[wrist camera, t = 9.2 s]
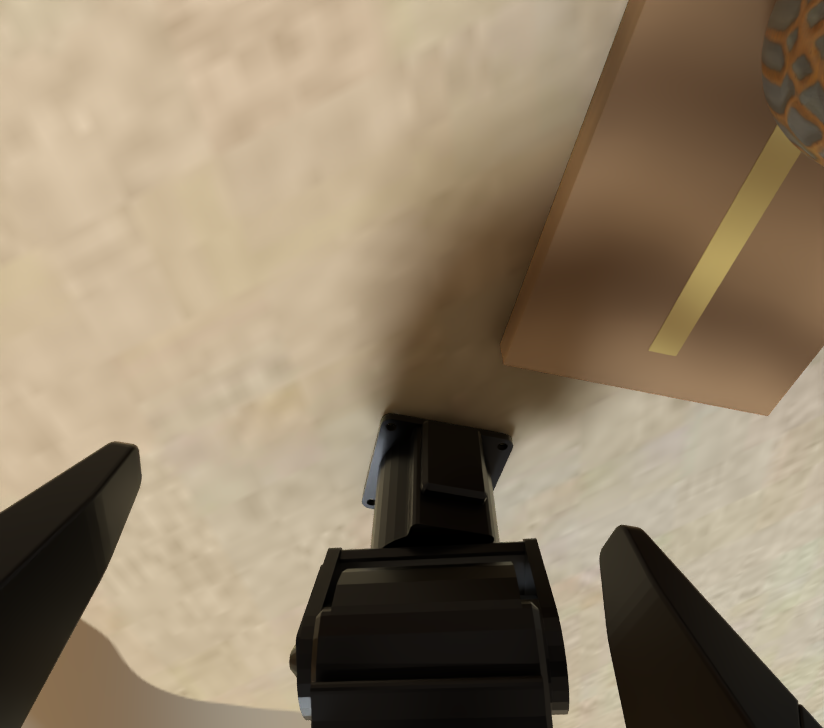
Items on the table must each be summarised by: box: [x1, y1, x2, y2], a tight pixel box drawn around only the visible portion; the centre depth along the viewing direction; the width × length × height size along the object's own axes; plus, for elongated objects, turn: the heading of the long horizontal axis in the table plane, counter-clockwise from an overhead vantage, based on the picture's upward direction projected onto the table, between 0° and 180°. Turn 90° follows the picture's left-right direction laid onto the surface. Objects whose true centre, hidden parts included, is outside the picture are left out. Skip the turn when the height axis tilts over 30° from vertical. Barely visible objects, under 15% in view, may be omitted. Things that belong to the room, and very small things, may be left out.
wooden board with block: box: [500, 0, 824, 416], centre depth 16 cm, size 20×12×6 cm, turn 168°
